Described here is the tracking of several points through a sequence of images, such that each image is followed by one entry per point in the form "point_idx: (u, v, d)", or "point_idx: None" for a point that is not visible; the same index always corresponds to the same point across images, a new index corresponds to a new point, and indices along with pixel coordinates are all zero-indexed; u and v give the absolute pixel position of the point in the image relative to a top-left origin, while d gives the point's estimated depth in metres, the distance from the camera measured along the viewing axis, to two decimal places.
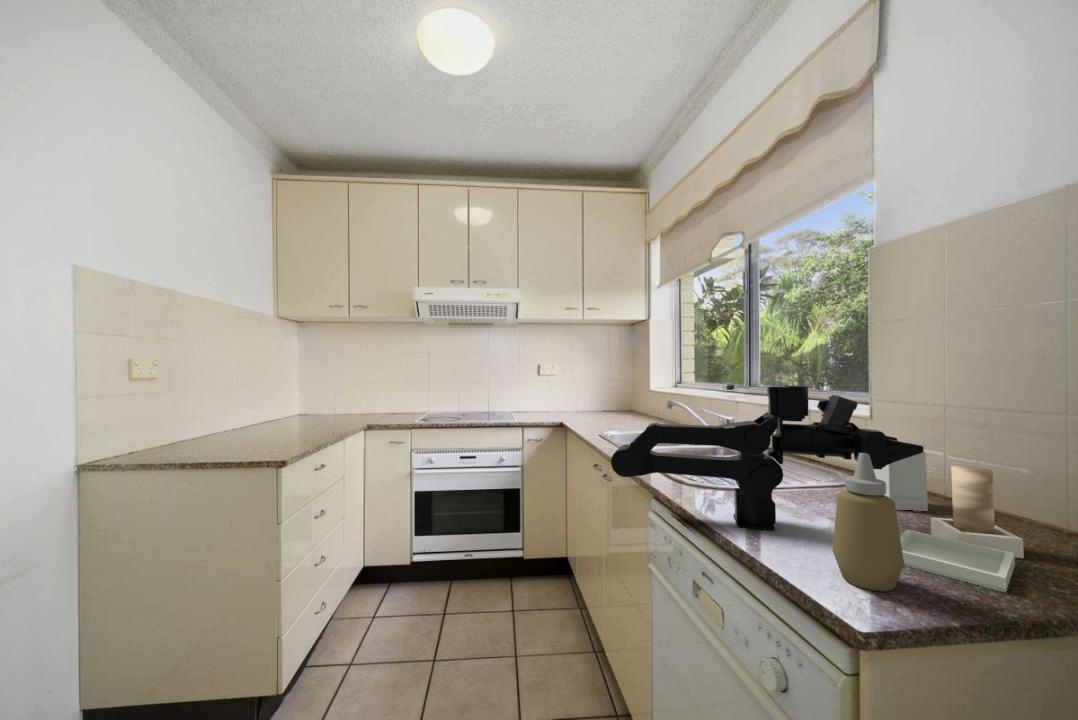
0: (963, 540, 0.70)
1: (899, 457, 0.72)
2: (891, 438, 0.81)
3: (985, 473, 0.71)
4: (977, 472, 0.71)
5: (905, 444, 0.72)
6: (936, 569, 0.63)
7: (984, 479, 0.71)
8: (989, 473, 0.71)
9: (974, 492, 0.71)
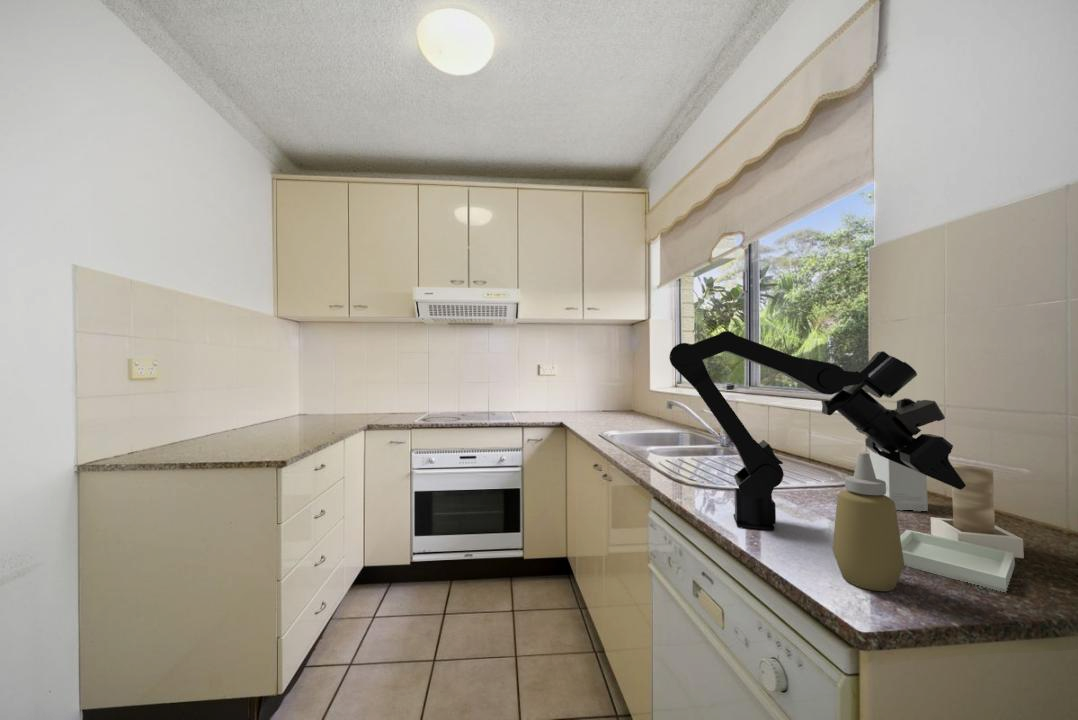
0: (963, 540, 0.70)
1: (939, 477, 0.70)
2: None
3: (985, 473, 0.71)
4: (977, 472, 0.71)
5: (955, 472, 0.70)
6: (936, 569, 0.63)
7: (984, 479, 0.71)
8: (989, 473, 0.71)
9: (974, 492, 0.71)
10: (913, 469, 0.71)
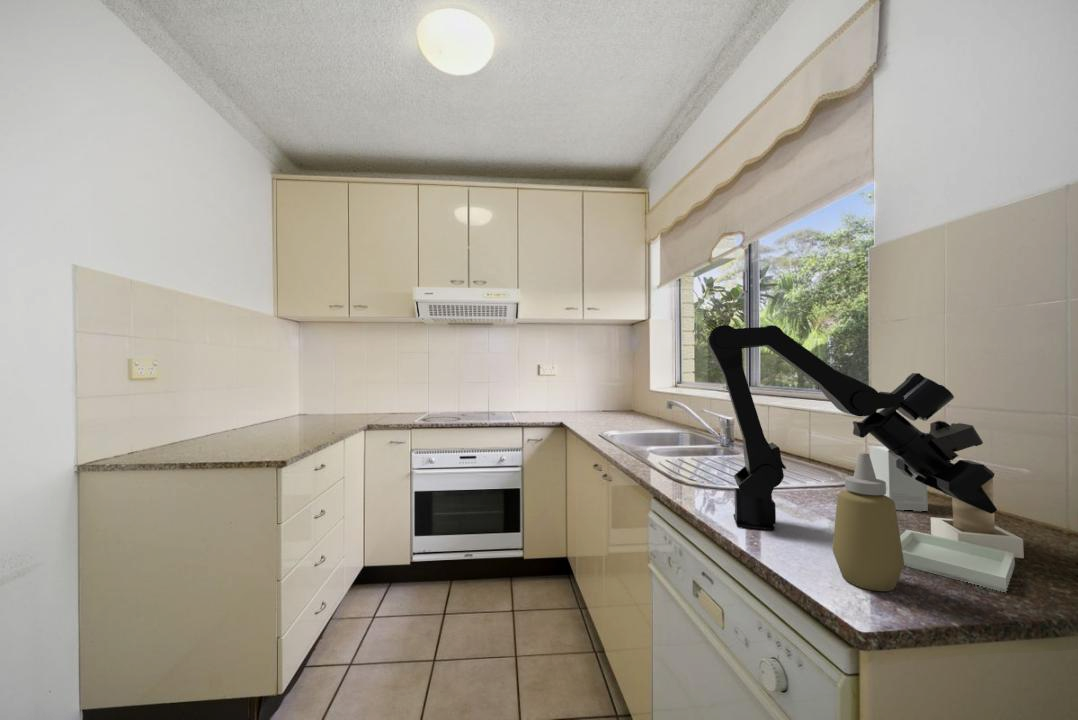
0: (963, 540, 0.70)
1: (970, 501, 0.70)
2: None
3: None
4: None
5: (986, 497, 0.70)
6: (936, 569, 0.63)
7: None
8: None
9: None
10: (944, 492, 0.71)
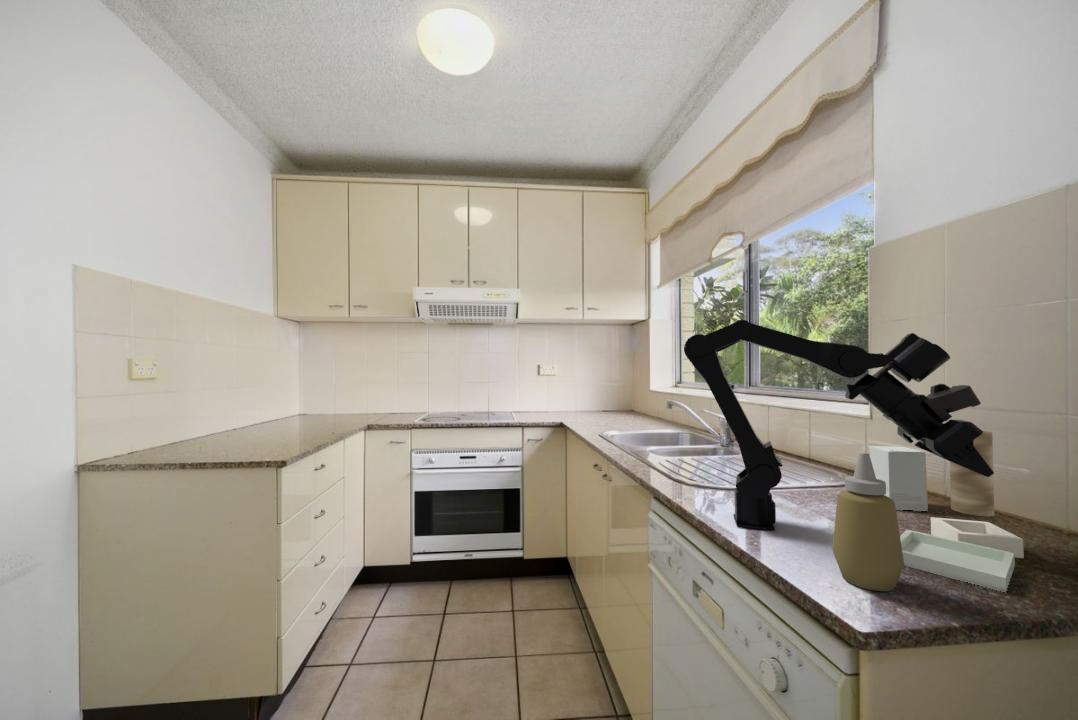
0: (963, 540, 0.70)
1: (963, 463, 0.68)
2: None
3: (982, 435, 0.68)
4: None
5: (981, 459, 0.67)
6: (936, 569, 0.63)
7: (980, 441, 0.68)
8: (987, 435, 0.68)
9: None
10: (935, 454, 0.69)
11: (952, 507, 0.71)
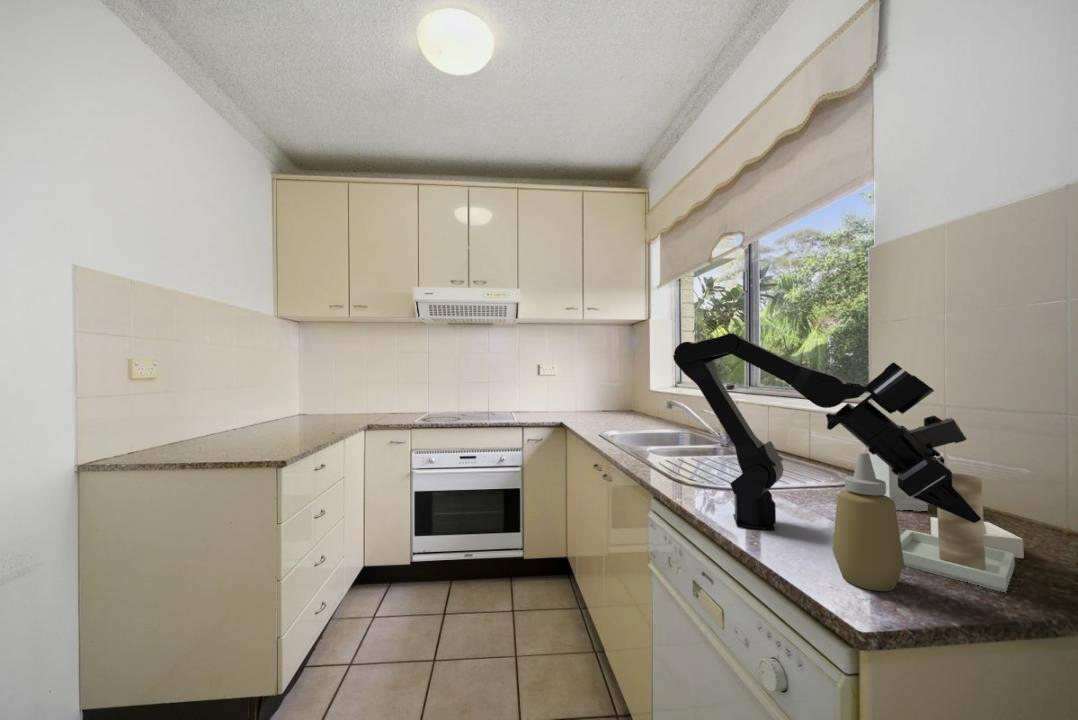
0: None
1: (943, 506, 0.62)
2: None
3: (965, 481, 0.63)
4: (955, 480, 0.64)
5: (964, 502, 0.61)
6: (936, 569, 0.63)
7: (963, 488, 0.63)
8: (971, 482, 0.63)
9: None
10: None
11: (939, 556, 0.67)
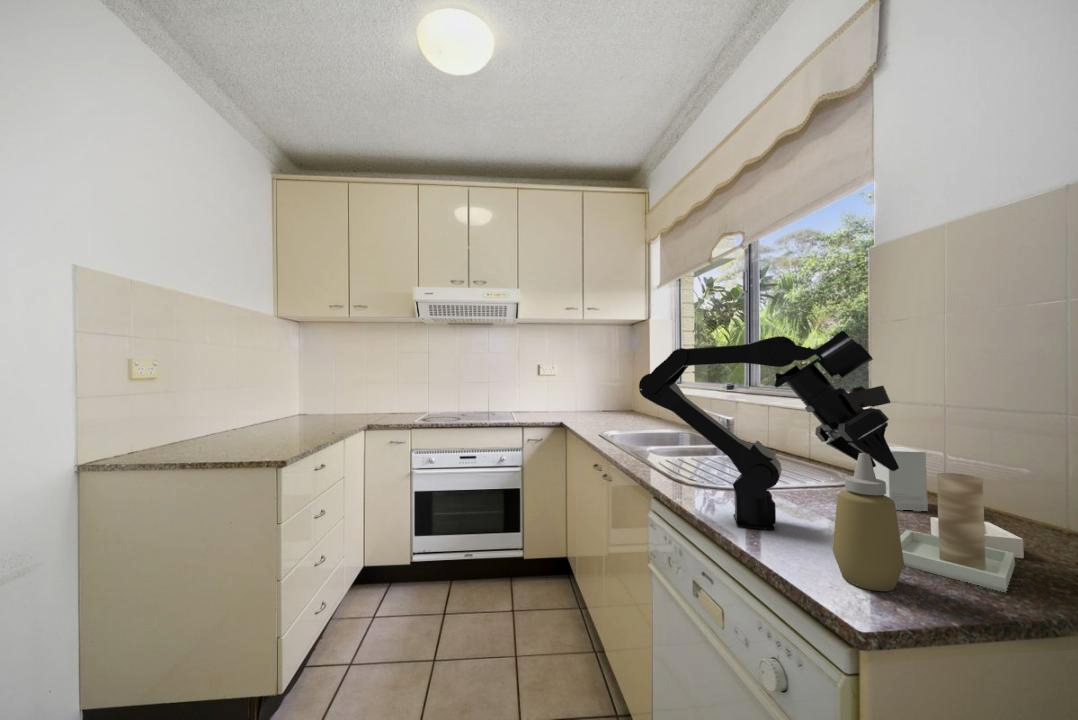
0: None
1: (872, 454, 0.69)
2: (872, 461, 0.78)
3: (966, 482, 0.63)
4: (956, 480, 0.64)
5: (889, 451, 0.69)
6: (936, 569, 0.63)
7: (964, 488, 0.63)
8: (972, 483, 0.63)
9: (953, 503, 0.64)
10: (848, 442, 0.71)
11: (939, 556, 0.67)
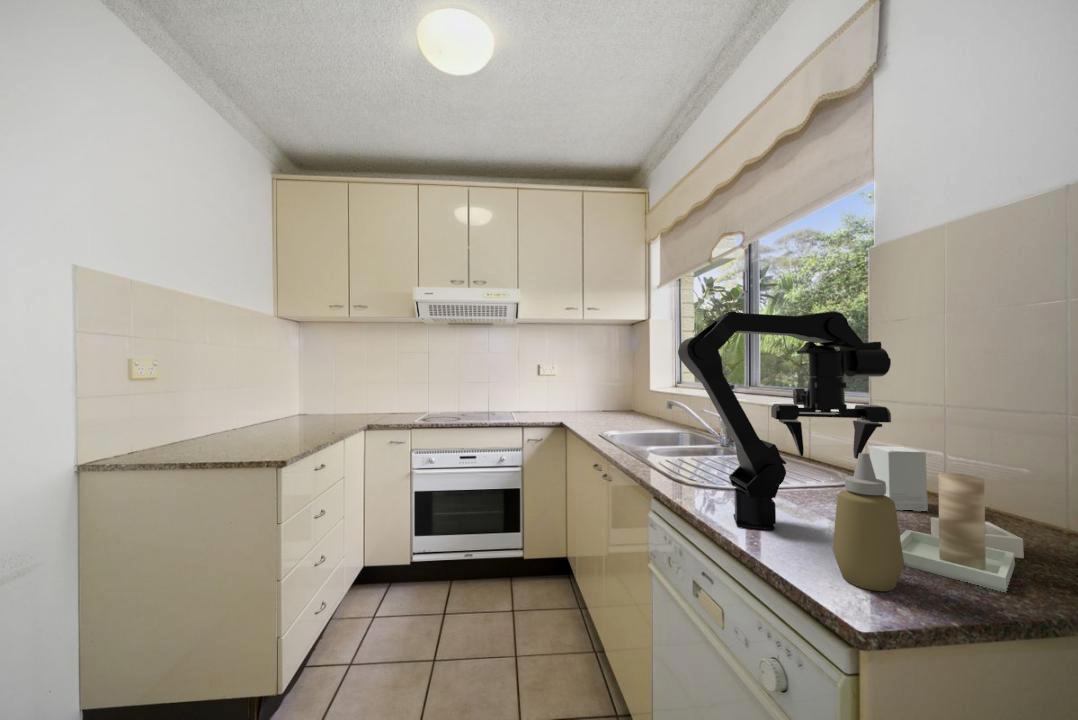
0: None
1: None
2: None
3: (968, 482, 0.63)
4: (958, 480, 0.64)
5: None
6: (936, 569, 0.63)
7: (965, 488, 0.63)
8: (974, 482, 0.63)
9: (954, 502, 0.64)
10: (869, 424, 0.79)
11: (939, 556, 0.67)
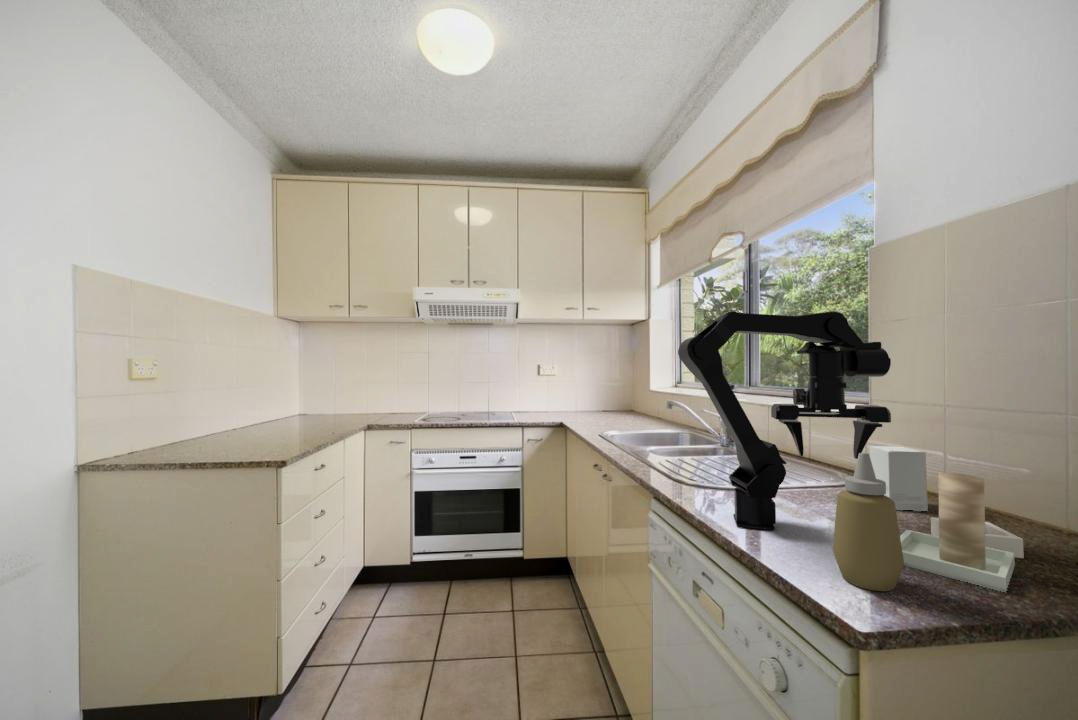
0: None
1: None
2: None
3: (967, 481, 0.63)
4: (957, 480, 0.64)
5: None
6: (936, 569, 0.63)
7: (965, 488, 0.63)
8: (973, 482, 0.63)
9: (953, 502, 0.64)
10: (869, 424, 0.79)
11: (939, 556, 0.67)
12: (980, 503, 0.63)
